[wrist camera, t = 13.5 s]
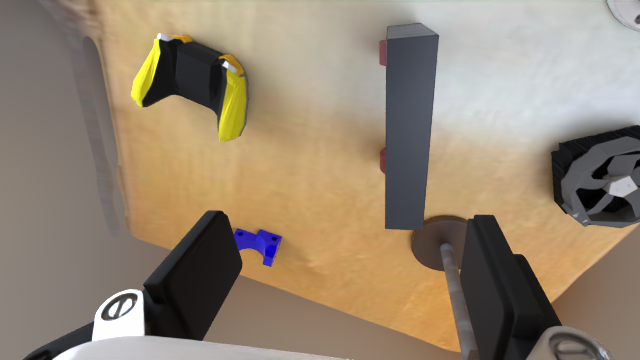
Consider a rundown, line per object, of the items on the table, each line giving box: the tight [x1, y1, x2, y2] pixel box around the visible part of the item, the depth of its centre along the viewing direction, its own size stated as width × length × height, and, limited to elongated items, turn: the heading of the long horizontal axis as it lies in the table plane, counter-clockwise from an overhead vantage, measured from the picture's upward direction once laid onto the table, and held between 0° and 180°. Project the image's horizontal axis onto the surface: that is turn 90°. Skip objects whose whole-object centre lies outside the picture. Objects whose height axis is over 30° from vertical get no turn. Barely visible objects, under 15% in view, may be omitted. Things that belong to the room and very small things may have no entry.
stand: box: [411, 216, 480, 360], centre depth 38 cm, size 10×10×20 cm
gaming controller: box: [131, 34, 249, 142], centre depth 39 cm, size 15×6×10 cm
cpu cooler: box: [551, 125, 640, 228], centre depth 35 cm, size 10×6×10 cm
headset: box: [380, 23, 439, 230], centre depth 32 cm, size 5×17×14 cm, turn 6°
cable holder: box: [234, 229, 282, 267], centre depth 52 cm, size 8×4×4 cm, turn 76°
